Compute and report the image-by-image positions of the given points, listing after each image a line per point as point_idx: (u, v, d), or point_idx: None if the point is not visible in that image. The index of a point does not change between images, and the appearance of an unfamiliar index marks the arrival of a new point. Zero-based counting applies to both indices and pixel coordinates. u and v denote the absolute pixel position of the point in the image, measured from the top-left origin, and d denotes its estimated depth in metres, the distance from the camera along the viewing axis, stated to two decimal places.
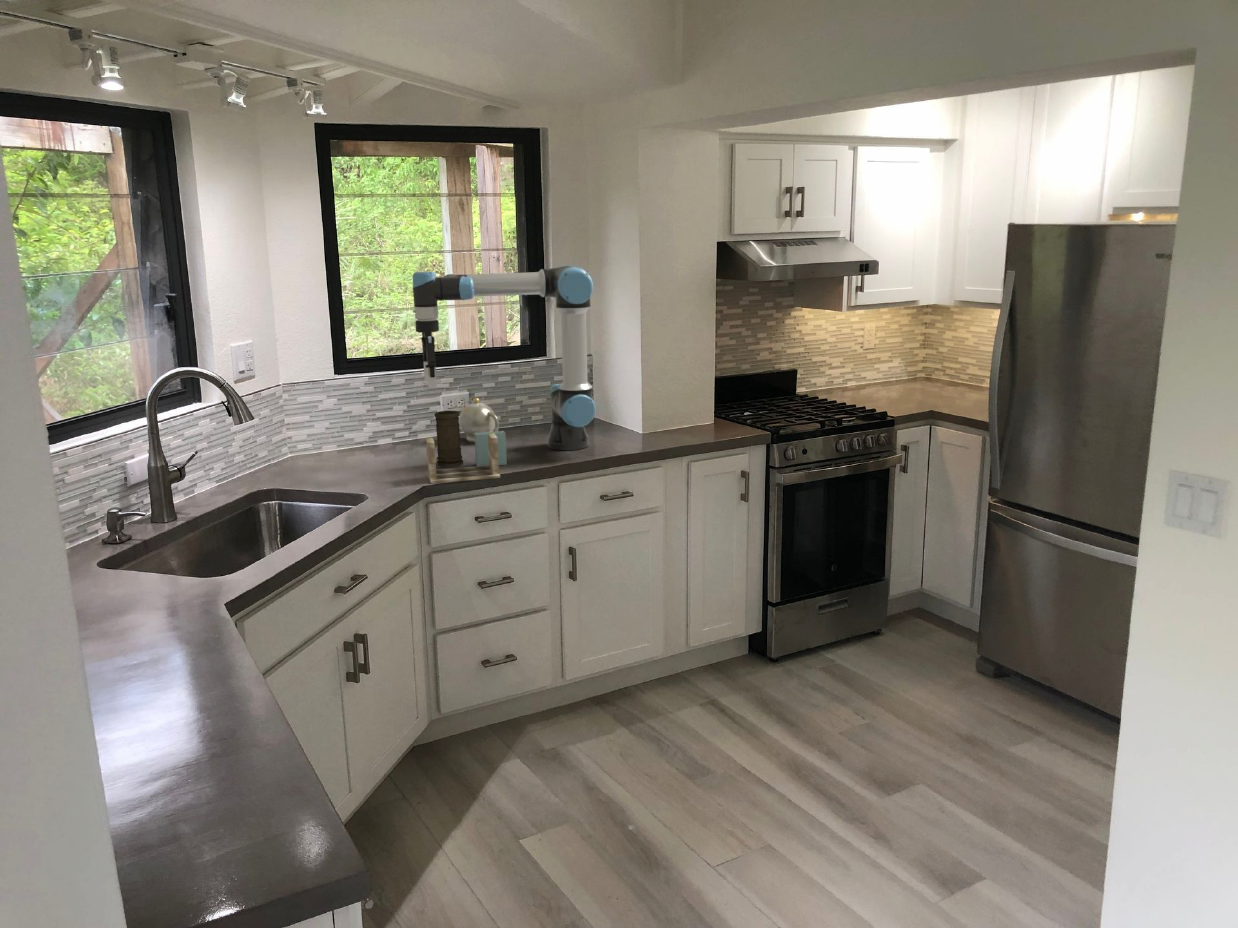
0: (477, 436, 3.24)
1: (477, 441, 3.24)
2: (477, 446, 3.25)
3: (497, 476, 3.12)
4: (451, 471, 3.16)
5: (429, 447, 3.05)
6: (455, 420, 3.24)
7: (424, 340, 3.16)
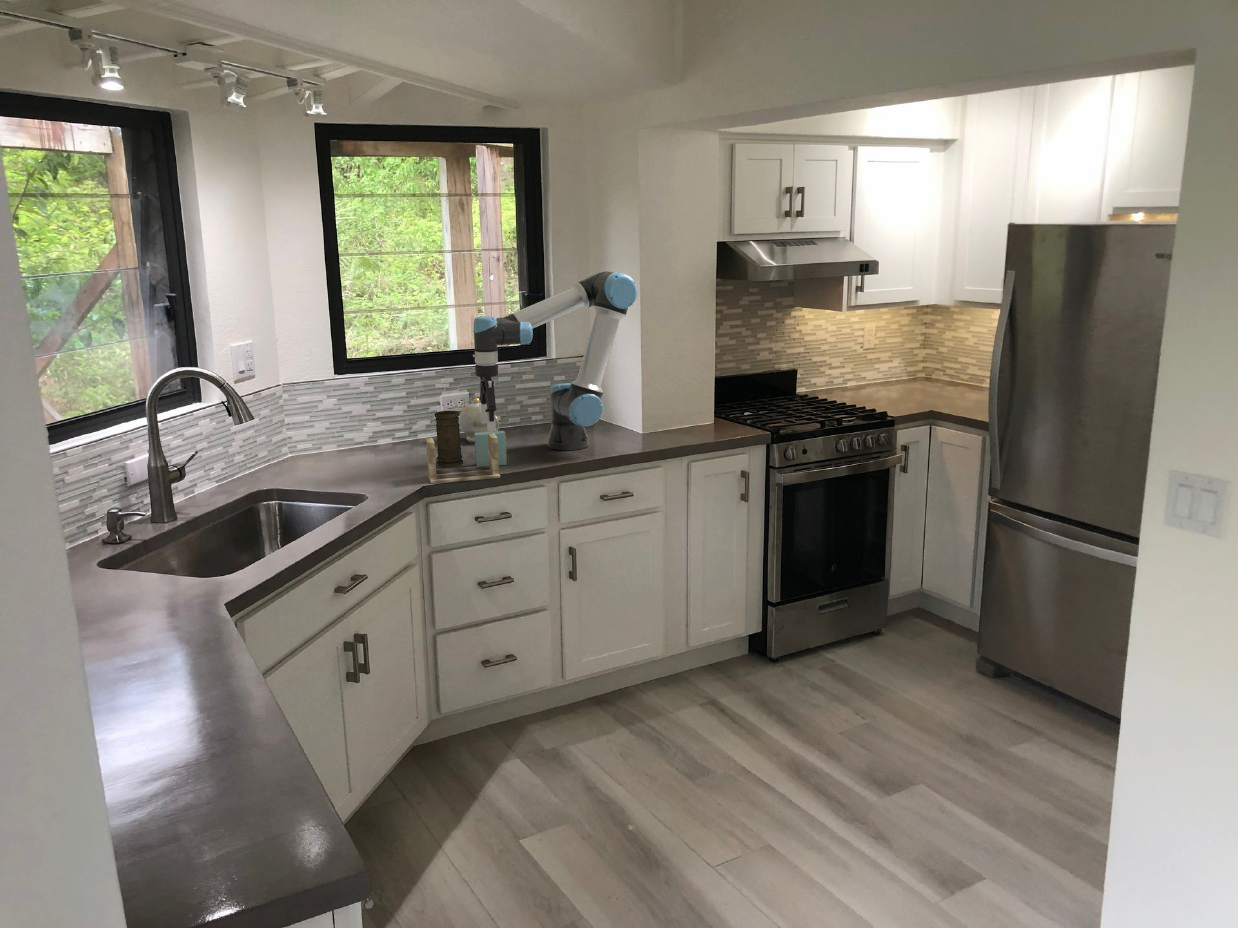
0: (477, 436, 3.24)
1: (477, 441, 3.24)
2: (477, 446, 3.25)
3: (497, 476, 3.12)
4: (451, 471, 3.16)
5: (429, 447, 3.05)
6: (455, 420, 3.24)
7: (484, 384, 3.20)
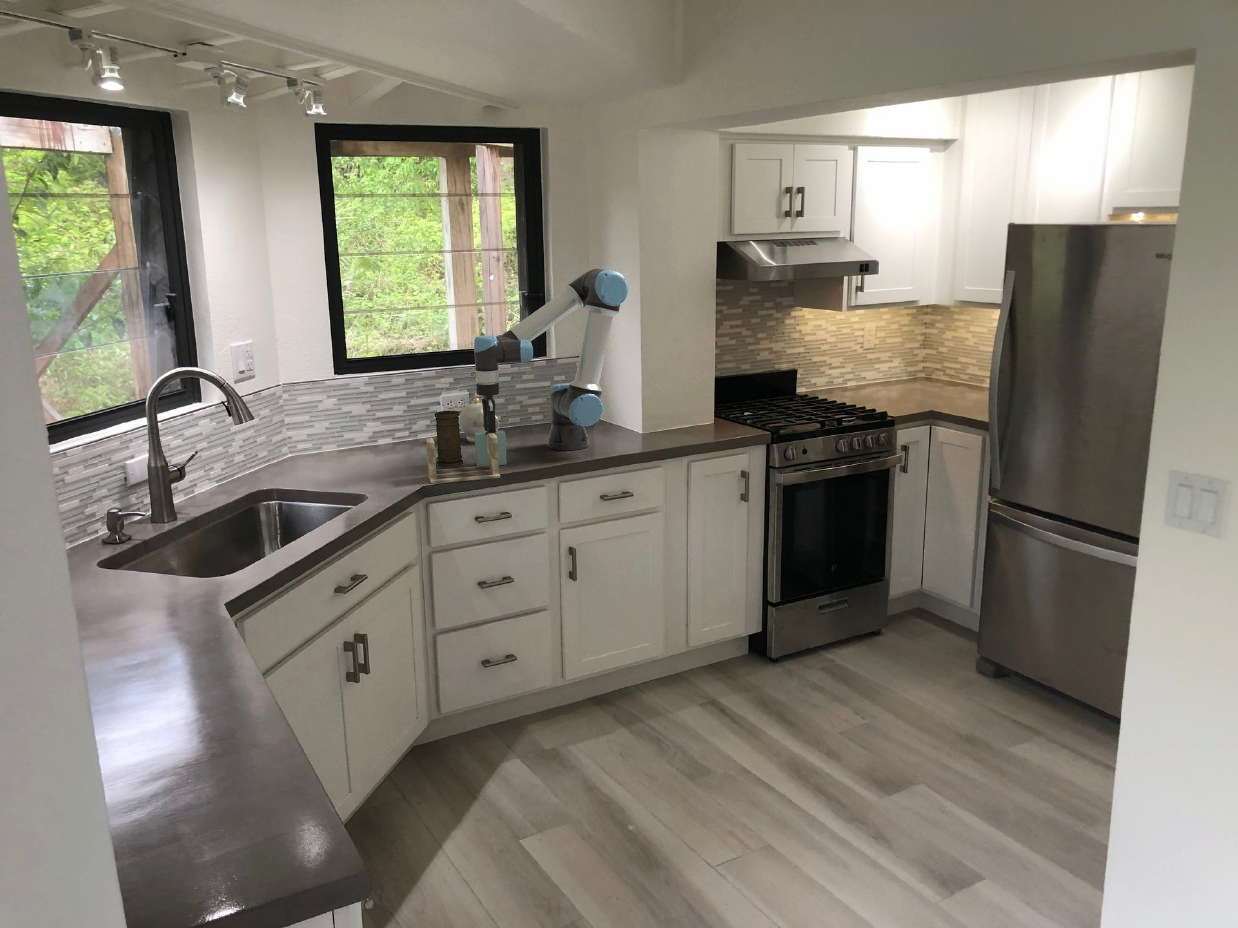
0: (477, 436, 3.24)
1: (477, 441, 3.24)
2: (477, 446, 3.25)
3: (497, 476, 3.12)
4: (451, 471, 3.16)
5: (429, 447, 3.05)
6: (455, 420, 3.24)
7: (485, 404, 3.22)
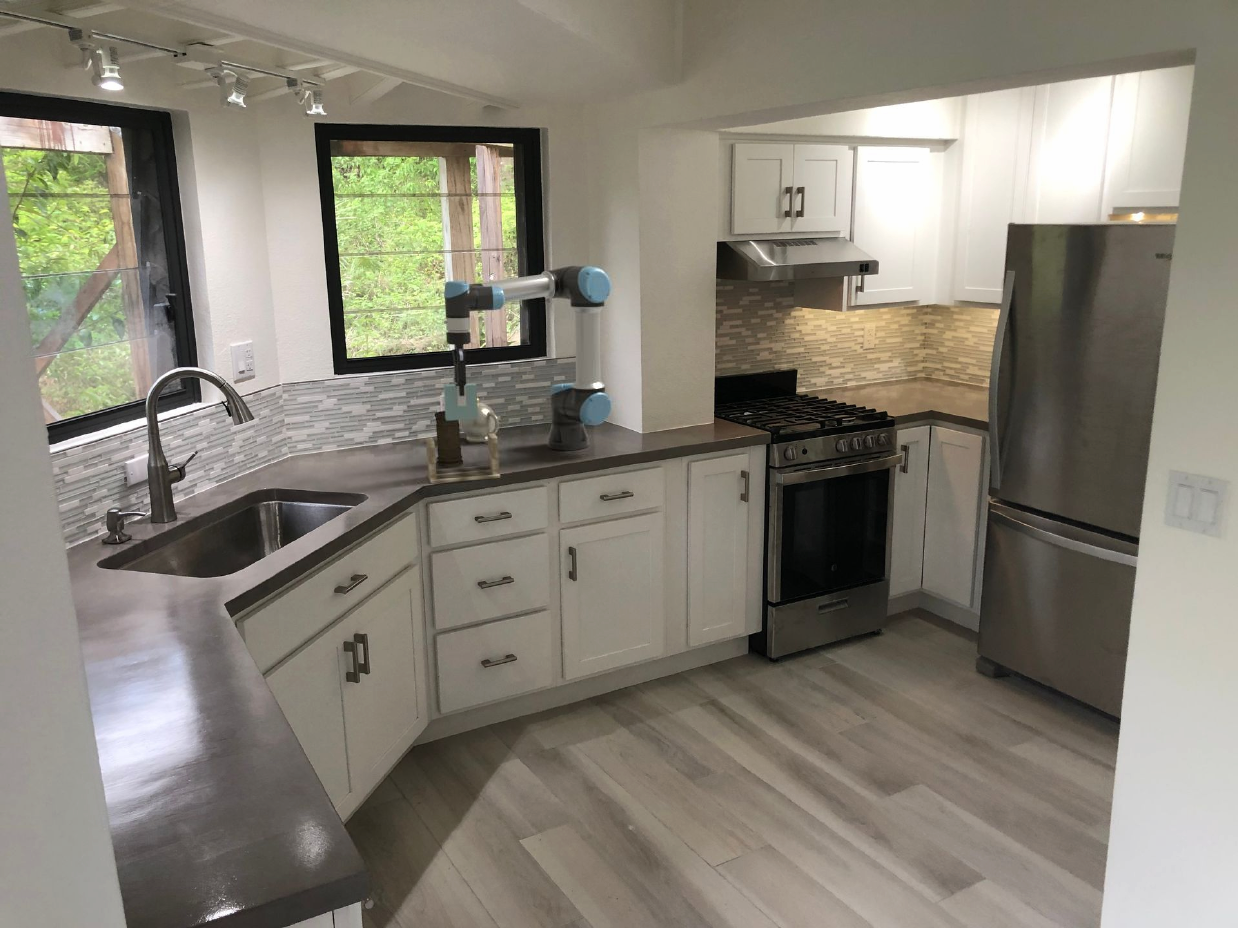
0: (446, 387, 3.06)
1: (446, 393, 3.06)
2: (446, 398, 3.07)
3: (497, 476, 3.12)
4: (451, 471, 3.16)
5: (429, 447, 3.05)
6: (455, 420, 3.24)
7: (455, 354, 3.04)
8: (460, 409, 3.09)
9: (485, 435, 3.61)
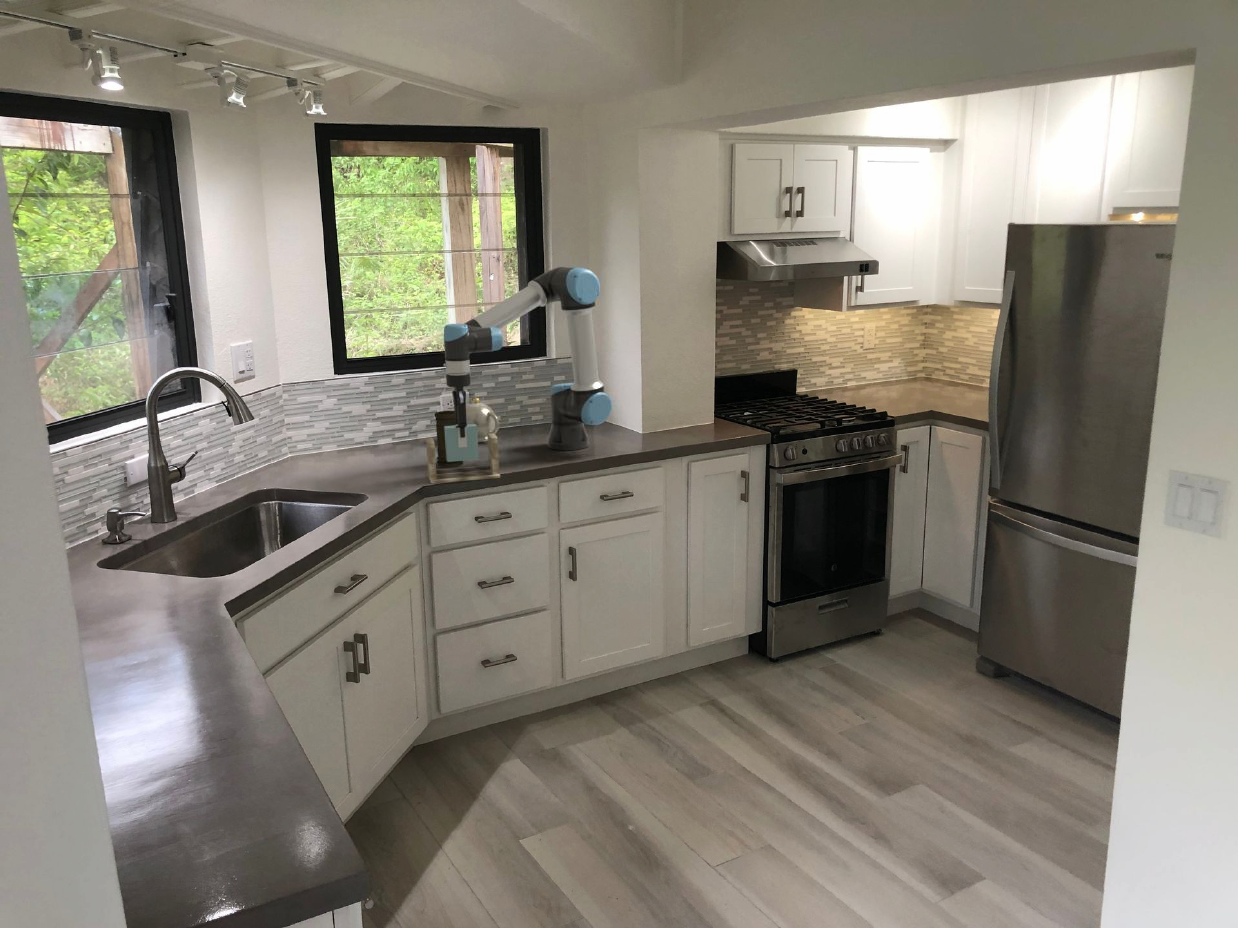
0: (447, 429, 3.08)
1: (447, 435, 3.08)
2: (447, 440, 3.08)
3: (497, 476, 3.12)
4: (451, 471, 3.16)
5: (429, 447, 3.05)
6: None
7: (455, 396, 3.06)
8: (461, 450, 3.10)
9: (485, 435, 3.61)
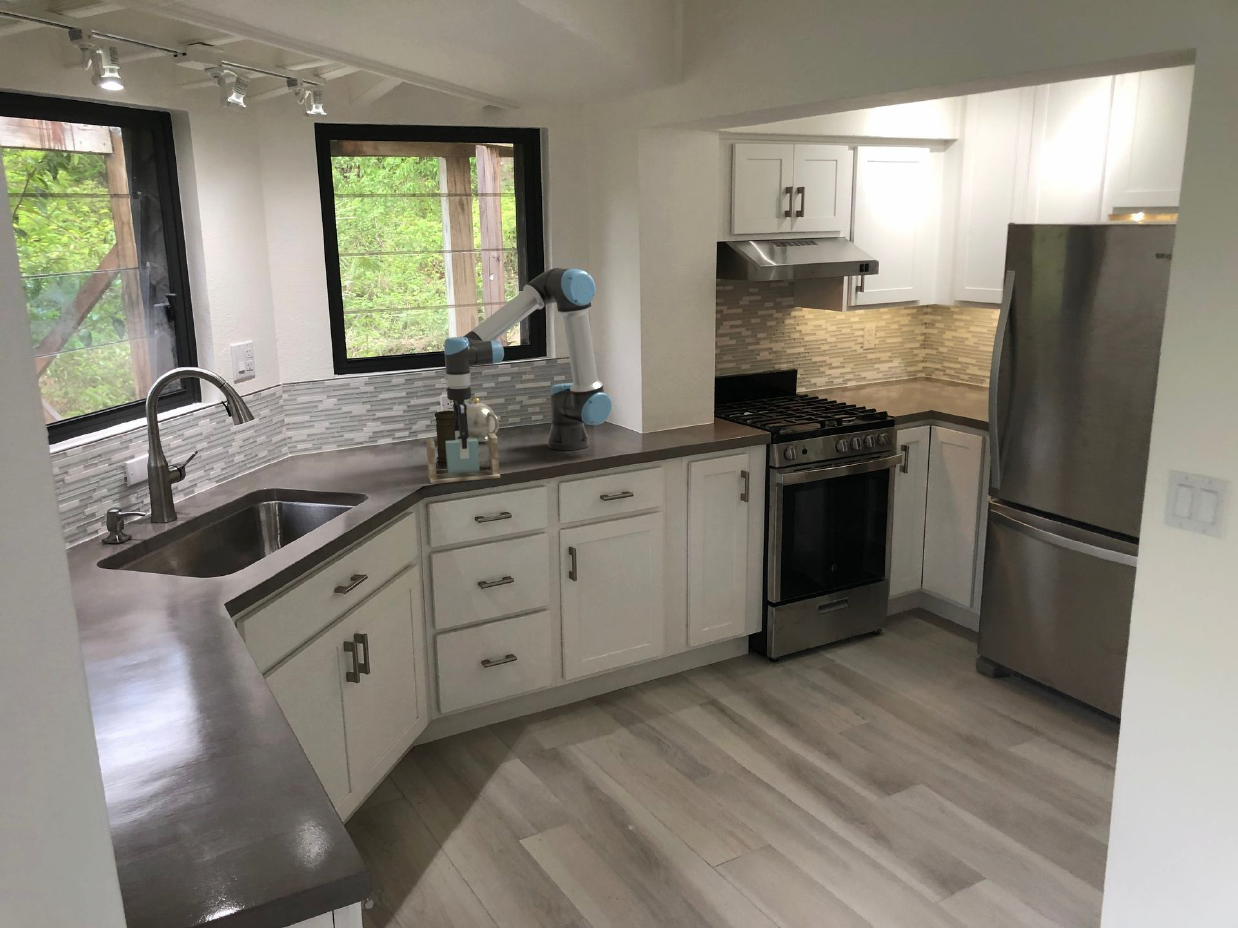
0: (448, 444, 3.09)
1: (448, 450, 3.09)
2: (448, 455, 3.10)
3: (497, 476, 3.12)
4: None
5: (429, 447, 3.05)
6: None
7: (456, 408, 3.06)
8: (462, 465, 3.12)
9: (485, 435, 3.61)
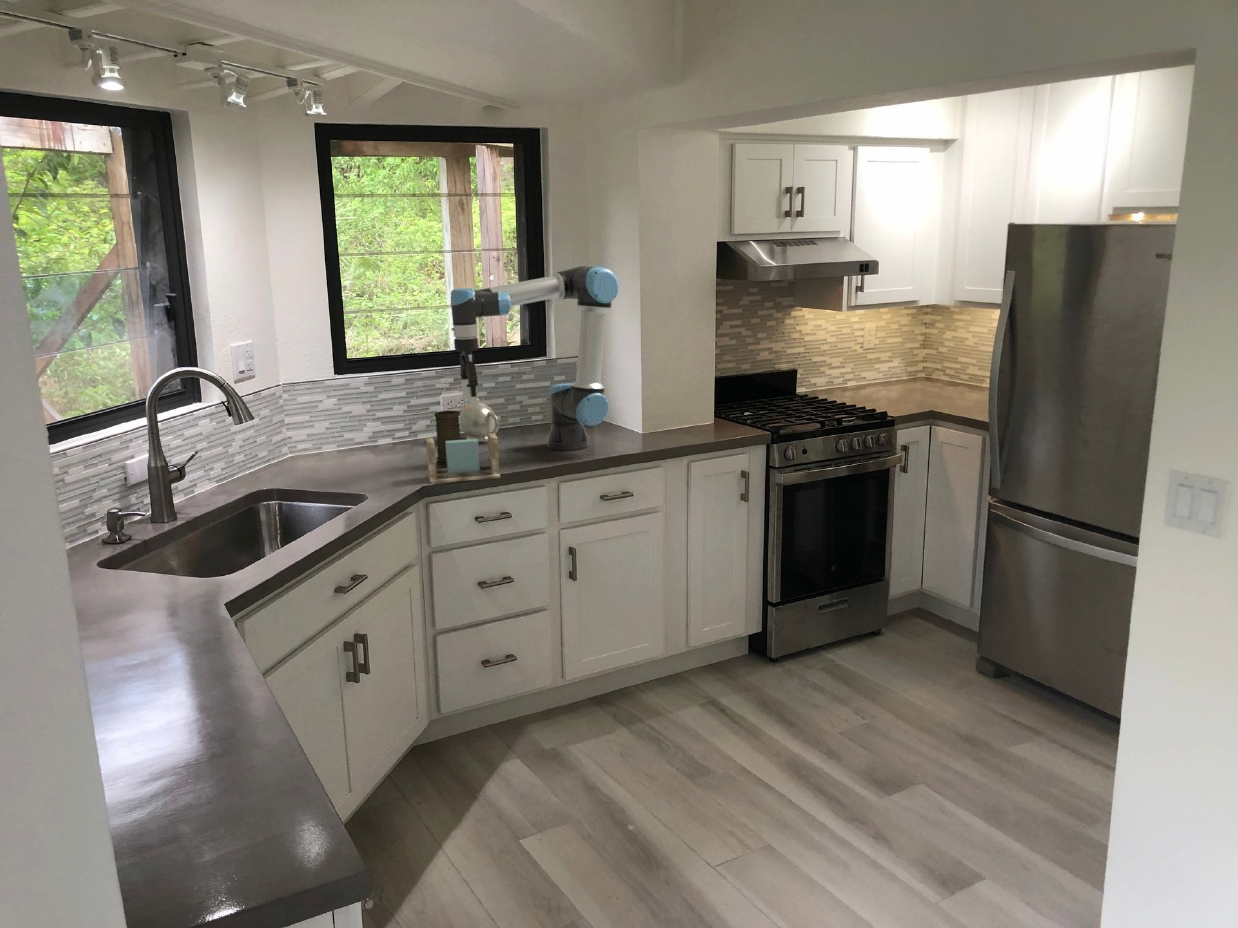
0: (448, 444, 3.09)
1: (448, 450, 3.09)
2: (448, 455, 3.10)
3: (497, 476, 3.12)
4: None
5: (429, 447, 3.05)
6: (455, 420, 3.24)
7: (464, 358, 3.09)
8: (462, 465, 3.12)
9: (485, 435, 3.61)
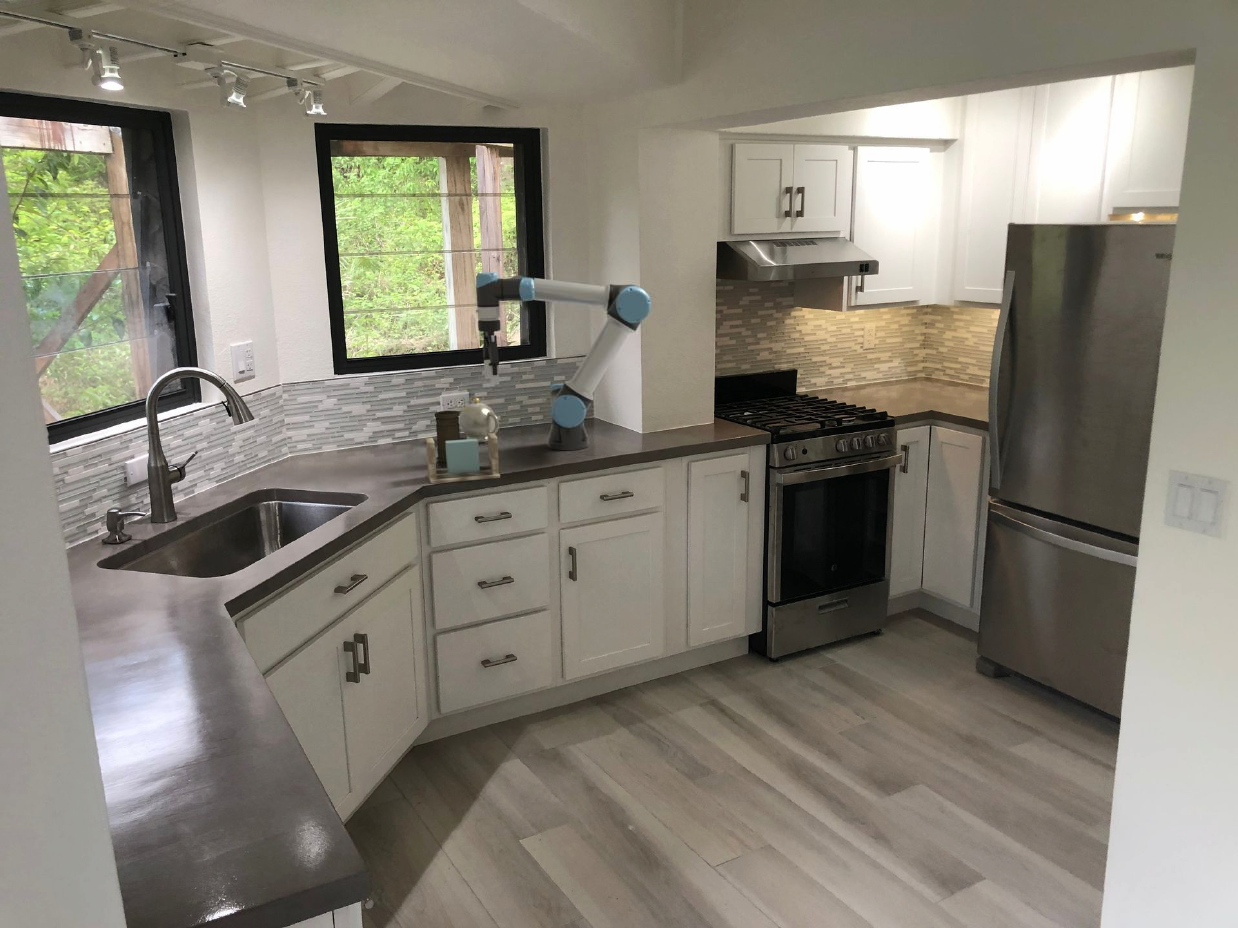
0: (448, 444, 3.09)
1: (448, 450, 3.09)
2: (448, 455, 3.10)
3: (497, 476, 3.12)
4: None
5: (429, 447, 3.05)
6: (455, 420, 3.24)
7: (486, 339, 3.27)
8: (462, 465, 3.12)
9: (485, 435, 3.61)
